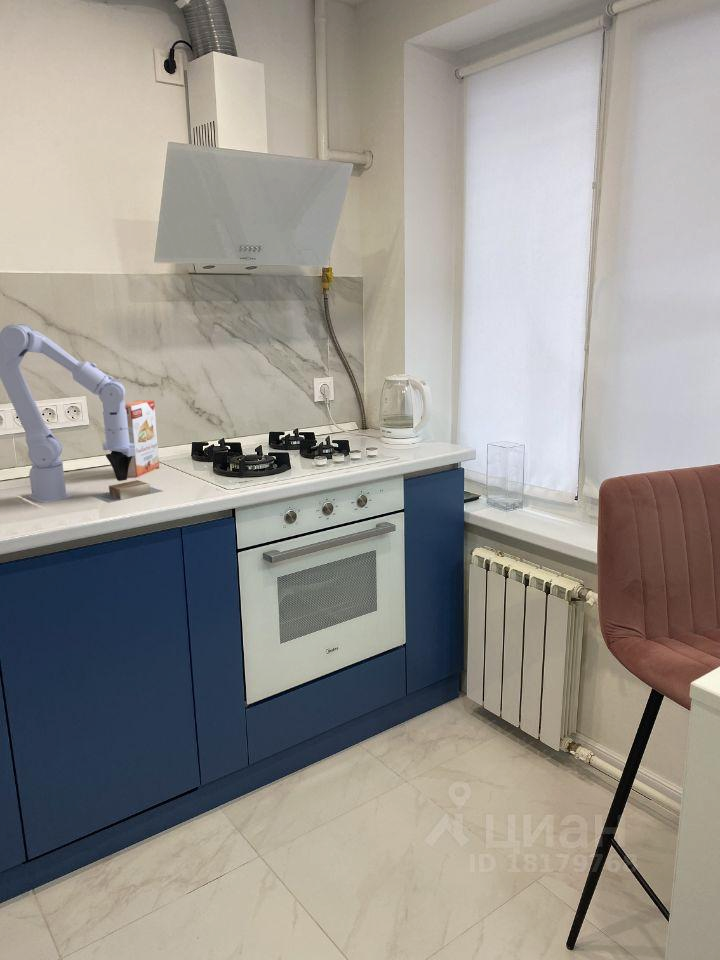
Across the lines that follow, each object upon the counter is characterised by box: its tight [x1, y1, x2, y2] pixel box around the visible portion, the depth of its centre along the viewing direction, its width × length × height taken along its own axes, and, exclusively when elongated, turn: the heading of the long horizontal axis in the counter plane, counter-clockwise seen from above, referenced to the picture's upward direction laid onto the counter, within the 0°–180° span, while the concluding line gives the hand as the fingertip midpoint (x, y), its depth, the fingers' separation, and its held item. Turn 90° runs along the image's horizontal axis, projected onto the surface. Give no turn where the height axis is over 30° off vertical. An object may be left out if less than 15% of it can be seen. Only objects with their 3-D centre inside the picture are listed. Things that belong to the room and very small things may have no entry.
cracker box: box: [125, 399, 160, 478], centre depth 210 cm, size 14×6×21 cm, turn 168°
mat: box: [92, 486, 163, 504], centre depth 187 cm, size 10×15×1 cm, turn 134°
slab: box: [108, 479, 151, 500], centre depth 186 cm, size 2×8×6 cm
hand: (122, 480), depth 188 cm, fingers closed
